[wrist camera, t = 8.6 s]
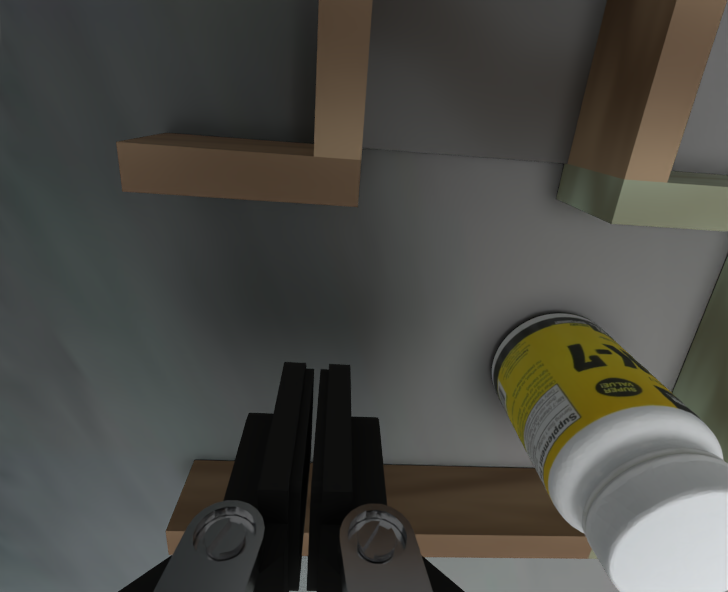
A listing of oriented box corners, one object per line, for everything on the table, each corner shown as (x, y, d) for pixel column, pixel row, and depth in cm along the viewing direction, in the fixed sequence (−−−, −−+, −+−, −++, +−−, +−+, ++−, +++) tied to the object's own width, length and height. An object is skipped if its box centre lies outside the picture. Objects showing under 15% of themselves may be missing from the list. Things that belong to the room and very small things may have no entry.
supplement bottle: (629, 329, 18) (845, 507, 10) (567, 421, 20) (713, 631, 12) (522, 293, 17) (672, 458, 9) (468, 392, 19) (557, 599, 11)
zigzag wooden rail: (140, -168, 12) (63, -272, 8) (901, -75, 13) (1083, -132, 10) (196, 481, 20) (168, 554, 17) (657, 491, 22) (712, 559, 18)
